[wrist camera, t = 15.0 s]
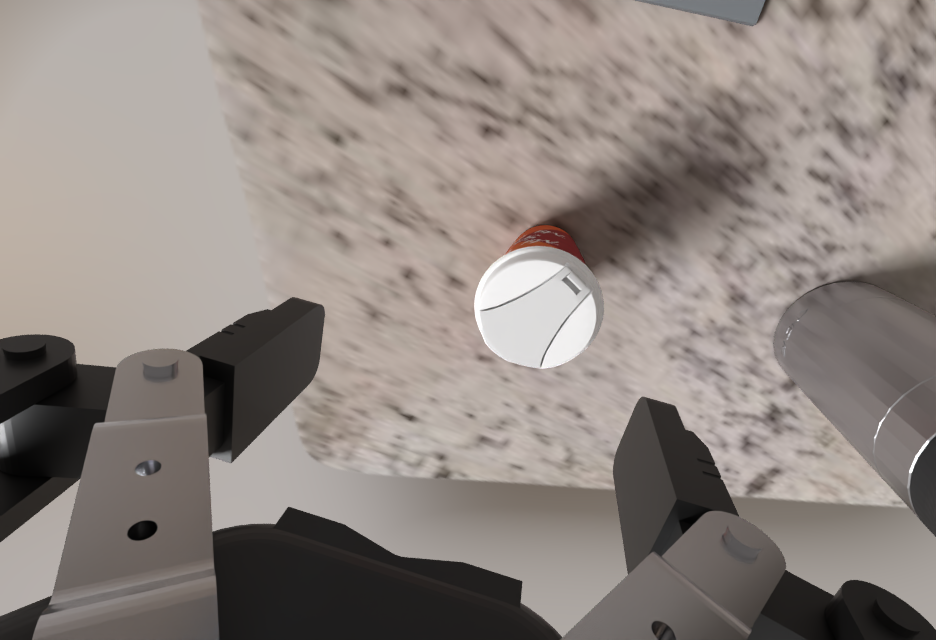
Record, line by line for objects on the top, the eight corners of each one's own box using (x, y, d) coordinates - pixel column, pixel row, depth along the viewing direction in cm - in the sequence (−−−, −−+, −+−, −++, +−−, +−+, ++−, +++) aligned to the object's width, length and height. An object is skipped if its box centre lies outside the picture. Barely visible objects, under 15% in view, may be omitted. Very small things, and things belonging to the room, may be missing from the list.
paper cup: (545, 191, 39) (537, 222, 26) (611, 258, 40) (635, 319, 27) (478, 258, 42) (442, 315, 29) (542, 319, 43) (533, 400, 30)
